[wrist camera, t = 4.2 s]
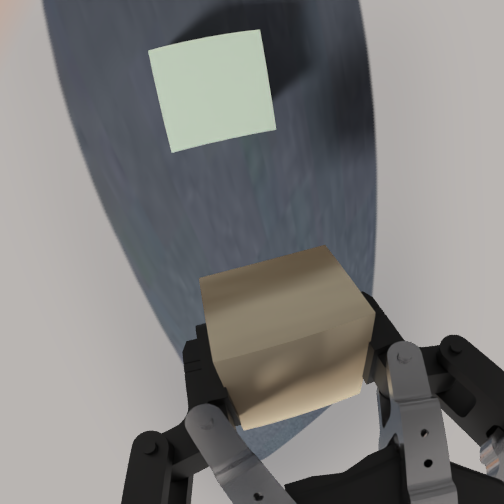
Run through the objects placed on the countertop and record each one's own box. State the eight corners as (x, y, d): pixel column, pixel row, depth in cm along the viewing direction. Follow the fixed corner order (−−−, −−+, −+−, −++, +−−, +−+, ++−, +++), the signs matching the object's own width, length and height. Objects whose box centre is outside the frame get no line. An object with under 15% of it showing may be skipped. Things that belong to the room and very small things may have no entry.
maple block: (199, 278, 12) (212, 362, 9) (324, 244, 12) (375, 312, 9) (226, 358, 15) (243, 430, 11) (325, 329, 15) (359, 393, 12)
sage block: (156, 57, 15) (148, 50, 11) (239, 40, 16) (259, 29, 12) (173, 134, 18) (171, 152, 14) (252, 116, 19) (276, 129, 14)
